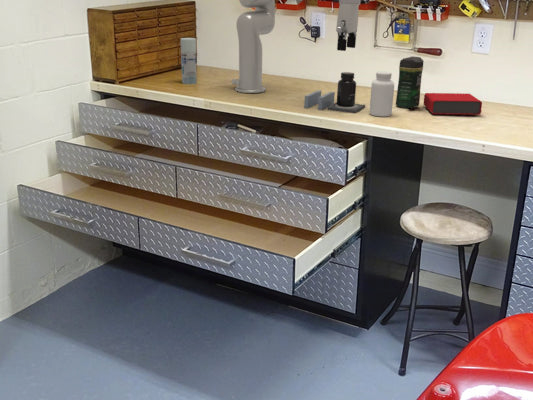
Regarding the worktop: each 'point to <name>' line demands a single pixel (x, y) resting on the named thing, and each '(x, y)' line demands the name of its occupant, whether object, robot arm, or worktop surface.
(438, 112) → the red device housing
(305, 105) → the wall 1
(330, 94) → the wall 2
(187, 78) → the tall grey product box
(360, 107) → the mat
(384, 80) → the pill bottle
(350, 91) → the supplement bottle
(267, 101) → the worktop surface
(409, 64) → the coffee jar
